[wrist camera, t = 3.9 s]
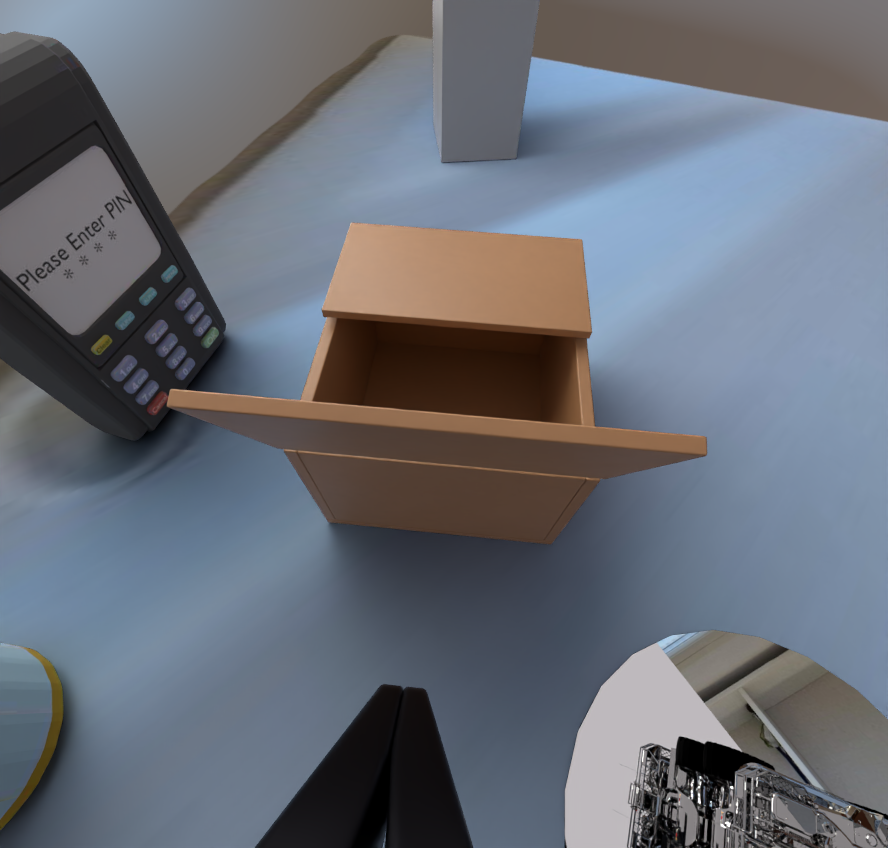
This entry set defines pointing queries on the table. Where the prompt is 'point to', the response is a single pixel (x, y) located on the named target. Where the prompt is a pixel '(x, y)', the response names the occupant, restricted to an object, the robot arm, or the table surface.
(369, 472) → the carton
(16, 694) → the bottle
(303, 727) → the table surface
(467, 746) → the table surface
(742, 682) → the toy car
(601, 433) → the lid flap
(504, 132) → the perfume bottle
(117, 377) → the card reader
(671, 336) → the table surface
